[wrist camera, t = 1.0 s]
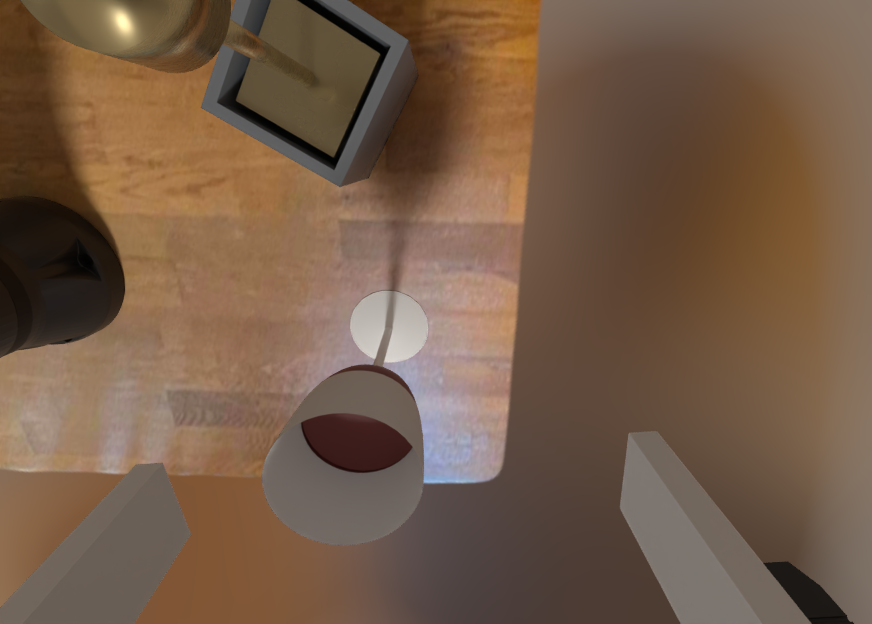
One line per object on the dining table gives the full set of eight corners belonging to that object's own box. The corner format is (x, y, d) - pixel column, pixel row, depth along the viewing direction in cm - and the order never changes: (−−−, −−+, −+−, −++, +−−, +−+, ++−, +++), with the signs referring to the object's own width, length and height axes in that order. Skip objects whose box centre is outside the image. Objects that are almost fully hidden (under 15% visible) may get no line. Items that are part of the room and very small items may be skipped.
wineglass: (331, 342, 46) (236, 506, 24) (375, 269, 43) (309, 383, 21) (402, 380, 48) (370, 566, 26) (448, 312, 44) (455, 460, 23)
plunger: (241, 101, 28) (-91, 13, 11) (280, -9, 26) (-59, -356, 8) (336, 157, 29) (180, 161, 12) (381, 56, 27) (273, -125, 10)
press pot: (247, 107, 37) (164, 87, 26) (289, -8, 34) (215, -87, 23) (368, 178, 40) (340, 187, 28) (418, 75, 36) (408, 40, 25)
